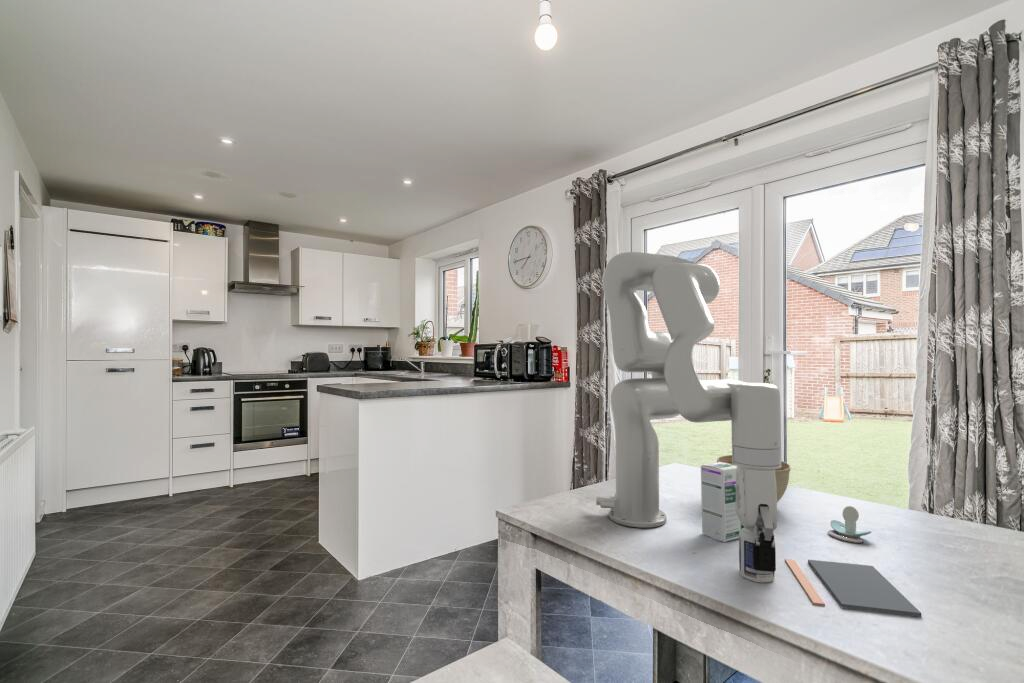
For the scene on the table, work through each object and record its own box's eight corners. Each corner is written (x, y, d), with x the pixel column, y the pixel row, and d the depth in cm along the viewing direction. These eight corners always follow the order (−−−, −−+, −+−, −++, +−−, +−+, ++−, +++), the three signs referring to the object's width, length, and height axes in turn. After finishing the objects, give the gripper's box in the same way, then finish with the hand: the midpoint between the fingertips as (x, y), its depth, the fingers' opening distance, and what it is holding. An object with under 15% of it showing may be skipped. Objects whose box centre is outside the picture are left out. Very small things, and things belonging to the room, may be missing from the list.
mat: (841, 607, 74) (841, 603, 74) (808, 562, 89) (808, 559, 89) (921, 617, 71) (921, 613, 71) (872, 569, 87) (872, 565, 87)
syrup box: (724, 543, 98) (724, 469, 99) (700, 533, 104) (700, 463, 104) (743, 538, 101) (743, 466, 101) (719, 528, 106) (719, 460, 106)
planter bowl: (717, 512, 117) (716, 466, 117) (717, 494, 132) (717, 452, 132) (795, 521, 110) (795, 472, 111) (786, 501, 125) (786, 457, 125)
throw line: (813, 604, 75) (813, 602, 75) (785, 560, 90) (785, 558, 90) (824, 605, 74) (824, 603, 74) (794, 561, 90) (794, 559, 90)
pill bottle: (782, 582, 82) (781, 522, 82) (753, 585, 81) (753, 525, 81) (759, 567, 87) (759, 512, 88) (732, 570, 86) (732, 514, 86)
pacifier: (856, 547, 97) (875, 541, 99) (856, 515, 97) (874, 510, 99) (820, 534, 103) (838, 529, 106) (819, 504, 103) (838, 500, 106)
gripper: (724, 445, 94) (725, 537, 93) (741, 466, 77) (743, 578, 77) (768, 447, 92) (769, 541, 91) (795, 469, 75) (797, 583, 75)
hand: (757, 558), depth 84 cm, fingers open, 9 cm apart
